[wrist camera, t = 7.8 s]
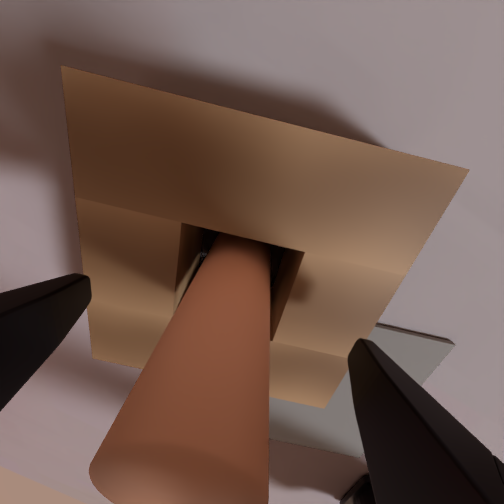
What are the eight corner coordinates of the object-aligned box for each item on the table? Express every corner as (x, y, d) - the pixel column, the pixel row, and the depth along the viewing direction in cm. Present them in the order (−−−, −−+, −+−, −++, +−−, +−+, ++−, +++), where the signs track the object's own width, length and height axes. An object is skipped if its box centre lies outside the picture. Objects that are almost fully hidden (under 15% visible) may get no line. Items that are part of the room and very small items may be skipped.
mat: (358, 453, 21) (359, 457, 20) (247, 430, 20) (247, 434, 20) (452, 341, 15) (455, 345, 14) (297, 305, 14) (297, 308, 14)
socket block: (312, 347, 16) (324, 408, 12) (134, 307, 15) (92, 358, 12) (401, 159, 10) (470, 169, 7) (135, 91, 10) (60, 65, 7)
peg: (263, 275, 14) (246, 540, 5) (212, 263, 14) (95, 509, 5) (276, 228, 12) (291, 468, 3) (220, 214, 12) (81, 423, 3)
